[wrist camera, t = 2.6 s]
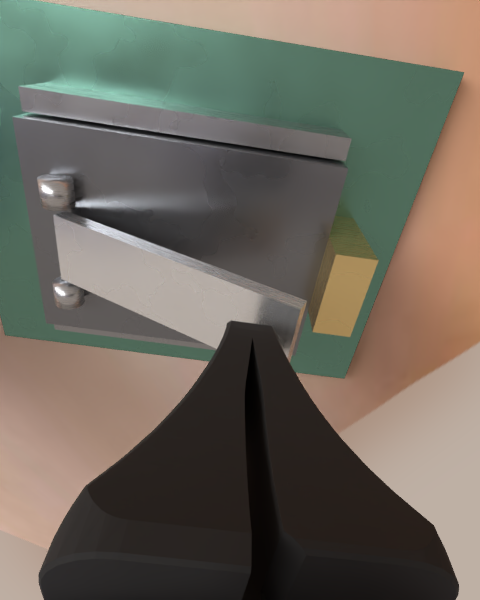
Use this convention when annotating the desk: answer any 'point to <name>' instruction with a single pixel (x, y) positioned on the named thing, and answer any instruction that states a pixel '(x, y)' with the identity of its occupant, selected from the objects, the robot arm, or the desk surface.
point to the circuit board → (205, 169)
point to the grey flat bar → (170, 284)
